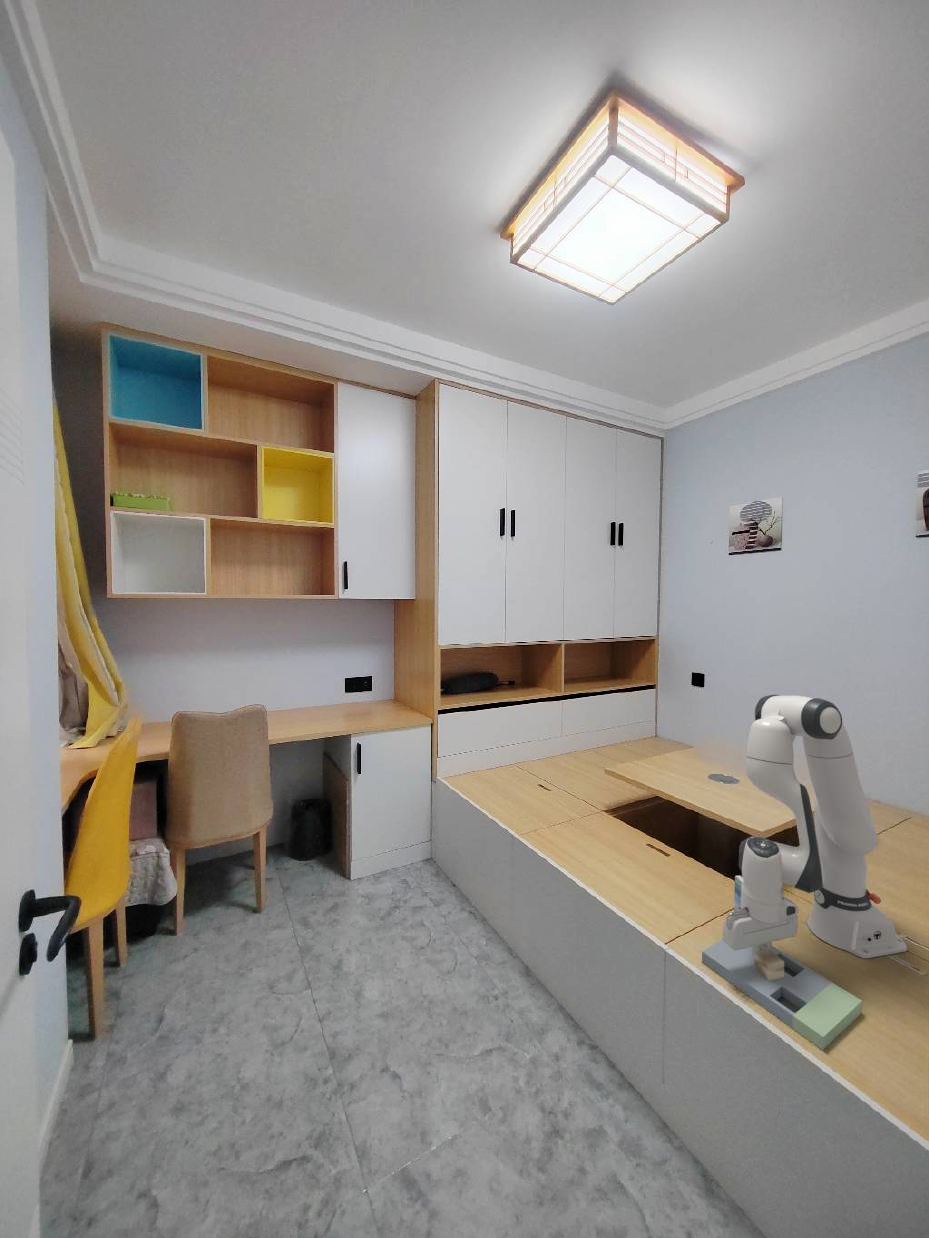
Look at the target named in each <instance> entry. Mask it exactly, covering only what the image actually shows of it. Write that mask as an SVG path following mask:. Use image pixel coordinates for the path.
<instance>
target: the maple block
mask: <svg viewBox="0 0 929 1238" xmlns="http://www.w3.org/2000/svg"><path fill="white" fill-rule="evenodd" d="M755 968H756V969H757V970H758V971H759V972H760V973H761V974H762V975H764V976H765V977H766V978H767V979H768V980H769V981H771V980H775V979H779V978H783V977H784V961H783V960H782V959H781V958H779V957H778V956H777V955H776V954H775V953H773V952H772V951H771V950H770V949H767V950H762V951H759V952H755Z"/></svg>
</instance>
